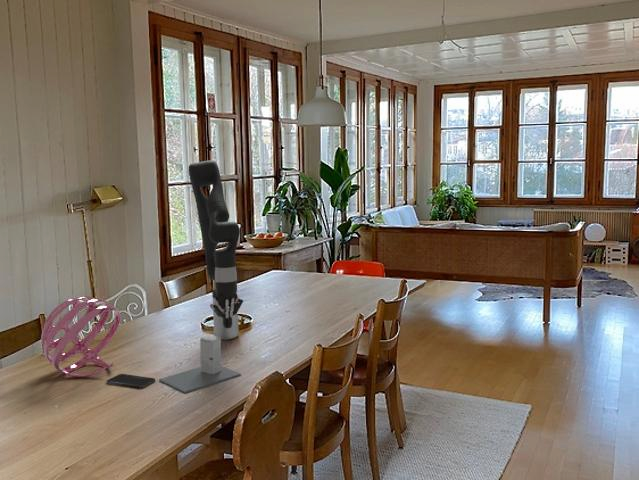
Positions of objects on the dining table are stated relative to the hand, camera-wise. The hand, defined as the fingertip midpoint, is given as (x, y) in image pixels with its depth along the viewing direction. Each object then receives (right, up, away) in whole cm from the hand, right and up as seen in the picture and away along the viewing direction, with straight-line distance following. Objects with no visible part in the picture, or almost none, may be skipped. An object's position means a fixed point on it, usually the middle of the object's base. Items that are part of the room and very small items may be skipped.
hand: (227, 327), depth 214 cm
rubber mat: (-8, -16, -8) cm, 19 cm away
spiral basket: (-51, -16, +2) cm, 53 cm away
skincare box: (-5, -15, -3) cm, 16 cm away
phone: (-31, -17, -10) cm, 37 cm away
